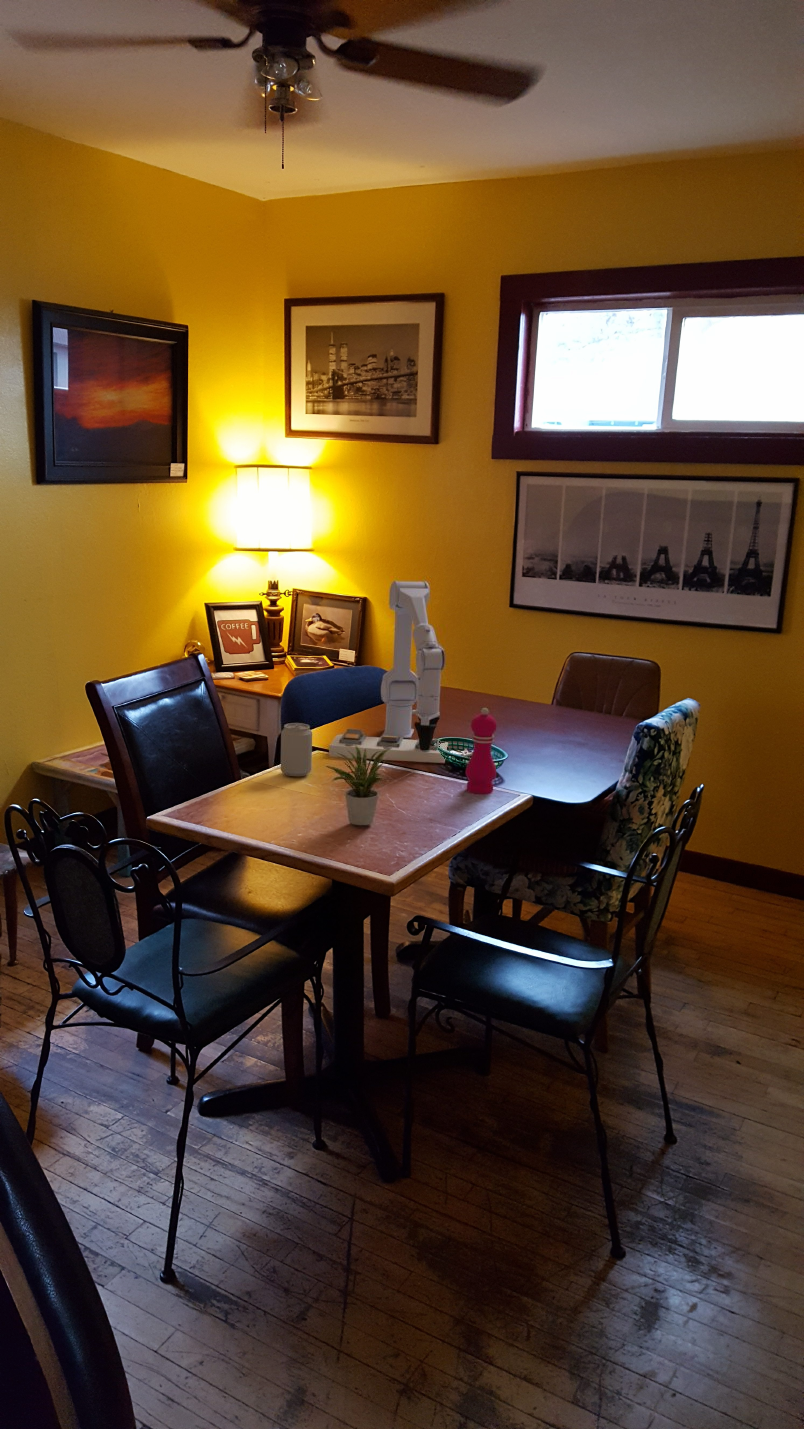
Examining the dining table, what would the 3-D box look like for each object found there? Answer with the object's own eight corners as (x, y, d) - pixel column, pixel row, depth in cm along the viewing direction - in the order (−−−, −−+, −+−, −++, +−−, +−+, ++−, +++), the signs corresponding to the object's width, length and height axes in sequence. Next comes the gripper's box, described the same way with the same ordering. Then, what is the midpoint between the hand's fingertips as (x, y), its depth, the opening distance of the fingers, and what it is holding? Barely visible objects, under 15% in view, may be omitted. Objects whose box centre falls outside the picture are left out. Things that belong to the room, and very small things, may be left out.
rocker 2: (384, 738, 272) (384, 734, 272) (399, 739, 272) (399, 735, 272) (381, 740, 266) (381, 736, 266) (396, 741, 266) (396, 737, 266)
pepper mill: (496, 795, 238) (501, 712, 233) (465, 794, 238) (470, 710, 233) (494, 786, 245) (499, 705, 240) (463, 785, 245) (468, 703, 240)
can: (275, 775, 246) (276, 726, 244) (287, 767, 253) (288, 720, 251) (304, 778, 244) (305, 730, 242) (315, 771, 251) (317, 723, 249)
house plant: (360, 804, 227) (363, 733, 223) (409, 819, 218) (412, 745, 215) (316, 818, 216) (317, 744, 212) (365, 835, 207) (367, 757, 204)
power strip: (337, 745, 277) (337, 731, 276) (490, 756, 272) (491, 742, 271) (329, 756, 265) (329, 741, 264) (489, 768, 261) (490, 753, 260)
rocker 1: (347, 732, 273) (347, 728, 273) (362, 733, 273) (362, 729, 273) (343, 741, 268) (343, 737, 267) (358, 742, 267) (358, 738, 267)
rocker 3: (421, 741, 271) (421, 737, 271) (436, 742, 271) (436, 738, 271) (419, 743, 265) (419, 739, 265) (434, 744, 265) (434, 740, 265)
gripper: (415, 688, 267) (413, 738, 270) (409, 699, 253) (407, 752, 256) (442, 690, 266) (440, 740, 269) (438, 701, 252) (435, 754, 255)
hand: (426, 746), depth 262 cm, fingers open, 7 cm apart
